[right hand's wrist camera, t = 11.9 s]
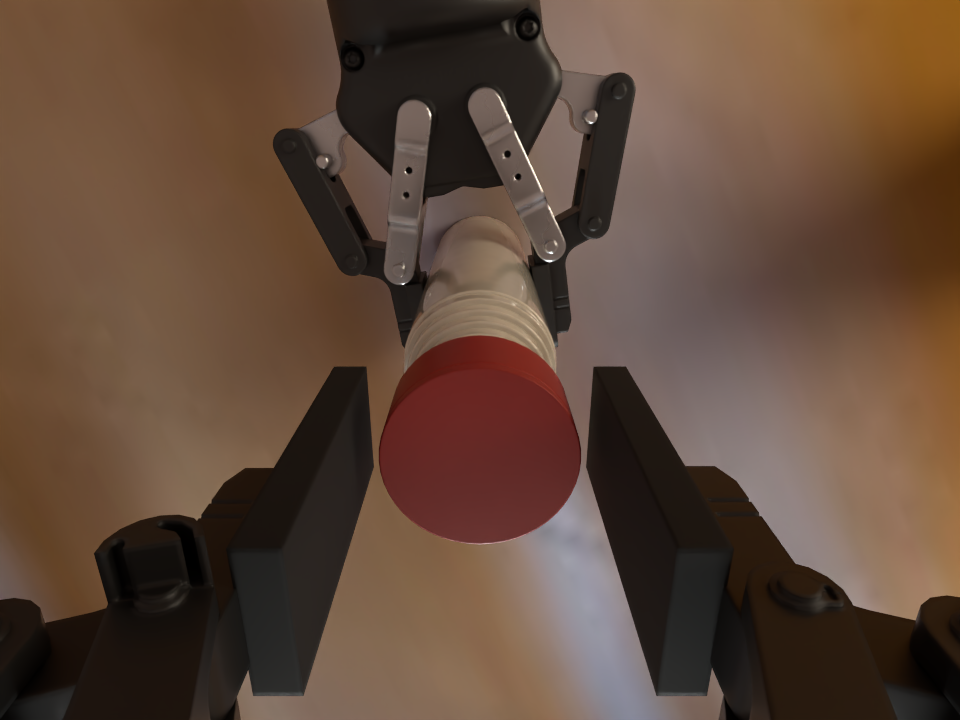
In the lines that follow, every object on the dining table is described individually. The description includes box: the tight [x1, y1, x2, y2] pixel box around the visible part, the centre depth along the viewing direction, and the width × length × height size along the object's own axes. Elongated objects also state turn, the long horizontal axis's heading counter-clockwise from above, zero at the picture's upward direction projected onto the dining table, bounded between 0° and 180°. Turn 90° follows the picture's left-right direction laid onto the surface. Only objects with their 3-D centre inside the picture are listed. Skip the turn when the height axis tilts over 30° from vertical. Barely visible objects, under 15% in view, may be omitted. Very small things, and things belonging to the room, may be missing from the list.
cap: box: [379, 335, 581, 544], centre depth 14 cm, size 4×4×2 cm
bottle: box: [404, 216, 556, 374], centre depth 22 cm, size 4×4×20 cm
